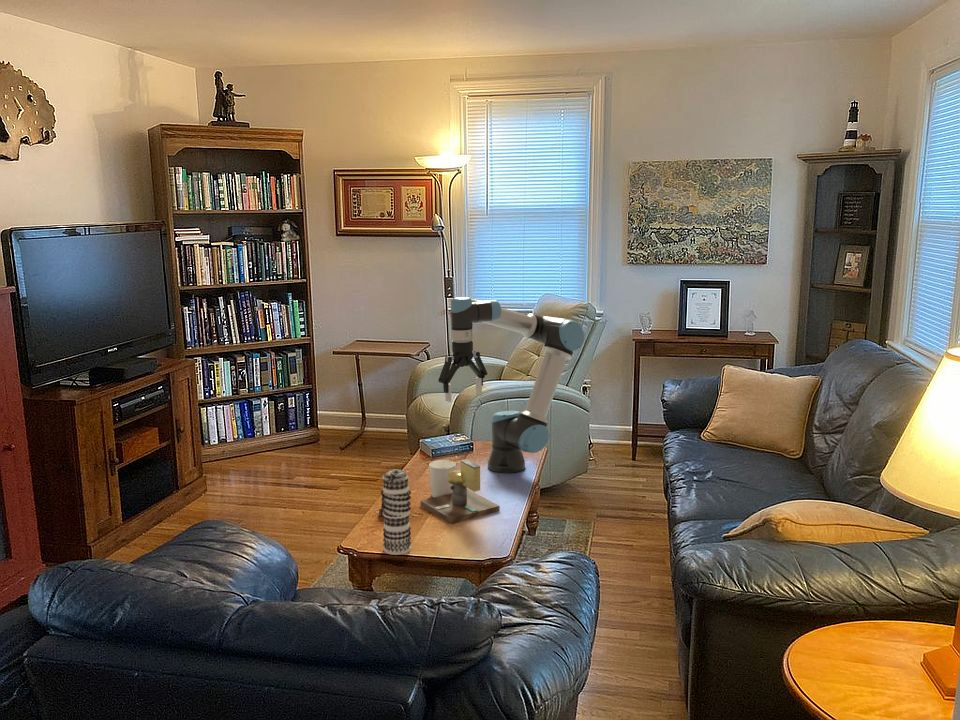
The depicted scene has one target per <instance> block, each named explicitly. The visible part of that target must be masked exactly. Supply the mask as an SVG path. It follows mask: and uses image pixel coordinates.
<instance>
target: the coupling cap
mask: <svg viewBox="0 0 960 720" xmlns="http://www.w3.org/2000/svg"><path fill="white" fill-rule="evenodd" d="M448 482H449V483H451V484H456V485H464V486H465V487H467V489H468V490H470V491H472V492H474V493H476V492H479V491H481V466H480V465H478V464H476V463H474V462H473V461H471V460H469V459H462V460H461V459H460V469H456V470H455V471H451V472H449V473H448Z"/></svg>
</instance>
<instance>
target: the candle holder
mask: <svg viewBox="0 0 960 720" xmlns="http://www.w3.org/2000/svg"><path fill="white" fill-rule="evenodd" d="M456 466H457V463H456V462H455V461H452V460H449V459H438V460H433V461H431V462H429V464H428V467H429V479H430V480H429V481H430V482H429V483H430V495H431V498H434V497H438V496H442V495H446V494H451V493H452V490H451V488H450V487H451V486H452V484H451V483H449V482H448V473H449V472H451V471H455V470H457V469H456V468H457V467H456Z"/></svg>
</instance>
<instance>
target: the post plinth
mask: <svg viewBox="0 0 960 720" xmlns="http://www.w3.org/2000/svg"><path fill="white" fill-rule="evenodd" d="M450 488H451V490H452V493H451V494H446V495H442V496H438V497H434V498H433V497H431V498H427V499H422V500H420V507H421V508H424V509H425V510H426V511H428V512H430V513H431V514H433V515H435V516H437V517H438V518H440V519H441V520H444V521H445V522H446V523H448V524H450V525H453V524H457V523H461V522H464V521H468V520H473V519H476V518H479V517H483V516H487V515H491V514H494V513H498V512H500V510H501V509H500V508H501V507H500V505H499V504H498V503H495V502H493V501H492V500H489V499H487V498H485V497H483V496H482V495H480V494H478V493H476V492H474V491H472V490H470V489H469V488H467V487H465V486H464V485H456V484H452V486H451V487H450Z"/></svg>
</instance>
